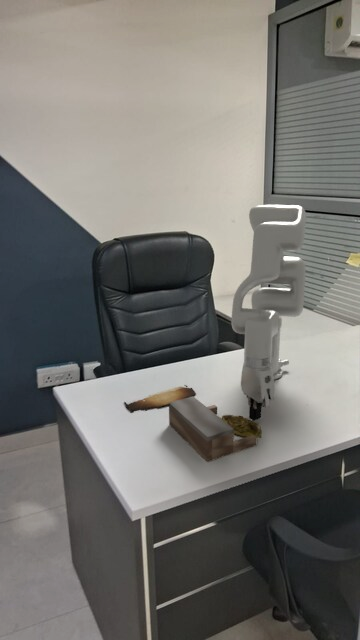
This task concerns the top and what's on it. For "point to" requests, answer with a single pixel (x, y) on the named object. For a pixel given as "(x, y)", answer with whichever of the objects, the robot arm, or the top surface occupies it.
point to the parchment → (161, 399)
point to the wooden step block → (205, 429)
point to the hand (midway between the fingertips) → (255, 418)
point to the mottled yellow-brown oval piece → (243, 426)
